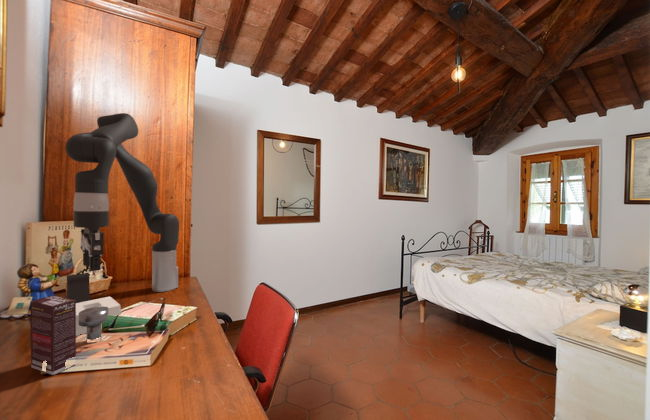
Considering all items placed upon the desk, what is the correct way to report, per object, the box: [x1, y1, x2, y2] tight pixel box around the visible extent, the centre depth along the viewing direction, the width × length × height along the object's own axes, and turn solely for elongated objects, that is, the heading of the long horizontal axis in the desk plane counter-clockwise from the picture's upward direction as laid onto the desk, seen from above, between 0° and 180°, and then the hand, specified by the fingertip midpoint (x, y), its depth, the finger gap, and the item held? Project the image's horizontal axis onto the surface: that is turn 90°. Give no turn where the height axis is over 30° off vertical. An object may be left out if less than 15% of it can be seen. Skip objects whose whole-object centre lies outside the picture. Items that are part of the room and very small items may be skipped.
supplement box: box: [29, 295, 77, 376], centre depth 66 cm, size 9×5×16 cm, turn 71°
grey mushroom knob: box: [79, 306, 108, 340], centre depth 78 cm, size 6×6×8 cm
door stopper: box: [66, 272, 91, 303], centre depth 102 cm, size 9×6×12 cm, turn 45°
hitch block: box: [76, 296, 122, 337], centre depth 88 cm, size 12×12×6 cm
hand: (91, 267), depth 78 cm, fingers open, 8 cm apart
